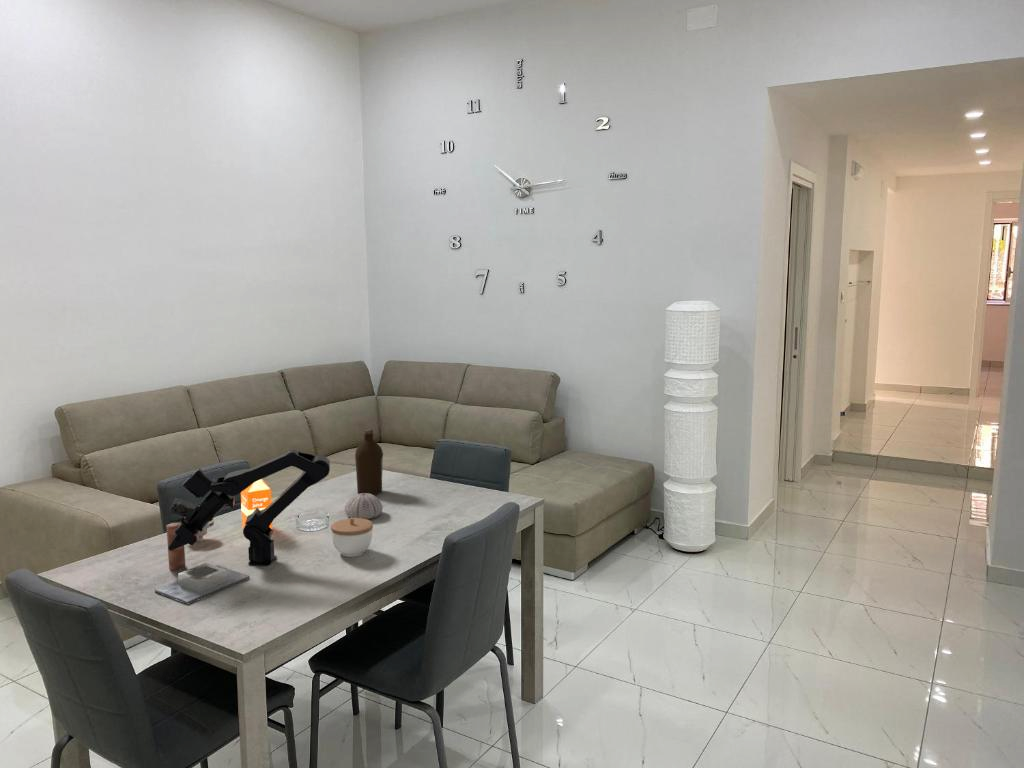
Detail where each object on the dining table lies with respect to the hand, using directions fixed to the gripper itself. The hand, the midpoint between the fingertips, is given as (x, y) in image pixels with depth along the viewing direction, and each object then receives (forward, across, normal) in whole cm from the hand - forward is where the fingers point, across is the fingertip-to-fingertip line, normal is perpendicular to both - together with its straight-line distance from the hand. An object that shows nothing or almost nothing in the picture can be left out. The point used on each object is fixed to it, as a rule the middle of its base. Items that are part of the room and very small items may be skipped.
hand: (170, 546), depth 223 cm
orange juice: (-10, -29, +20) cm, 37 cm away
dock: (-3, +15, +12) cm, 19 cm away
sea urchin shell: (-35, -37, +45) cm, 68 cm away
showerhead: (+2, -23, +8) cm, 24 cm away
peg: (+4, 0, +6) cm, 7 cm away
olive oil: (-38, -64, +48) cm, 88 cm away
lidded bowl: (-32, -2, +42) cm, 52 cm away
